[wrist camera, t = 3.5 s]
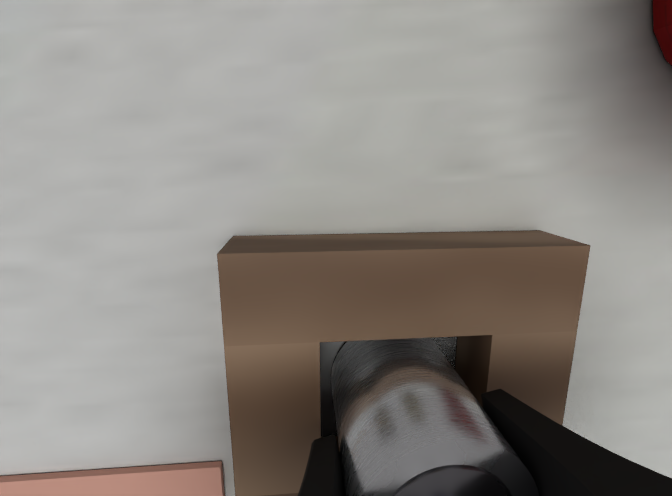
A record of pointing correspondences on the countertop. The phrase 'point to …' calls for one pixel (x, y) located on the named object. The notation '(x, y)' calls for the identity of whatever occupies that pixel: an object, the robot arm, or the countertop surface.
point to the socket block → (386, 325)
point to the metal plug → (416, 426)
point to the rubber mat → (122, 482)
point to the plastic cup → (663, 26)
